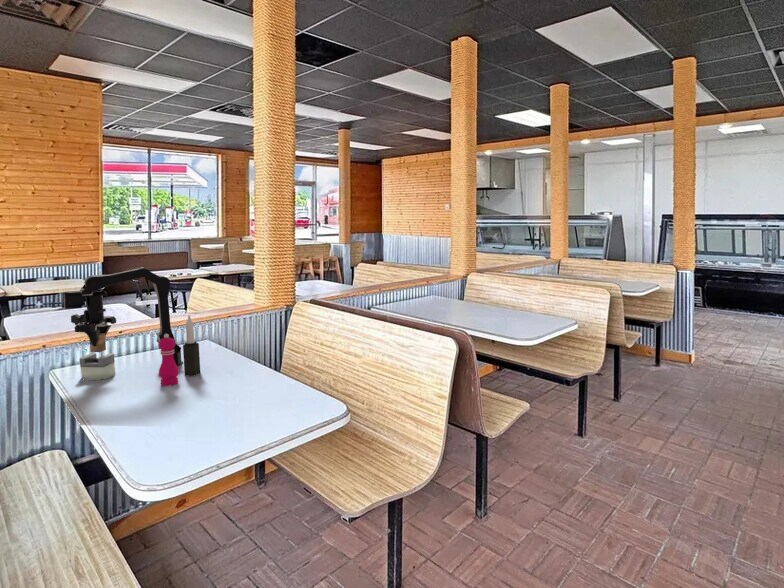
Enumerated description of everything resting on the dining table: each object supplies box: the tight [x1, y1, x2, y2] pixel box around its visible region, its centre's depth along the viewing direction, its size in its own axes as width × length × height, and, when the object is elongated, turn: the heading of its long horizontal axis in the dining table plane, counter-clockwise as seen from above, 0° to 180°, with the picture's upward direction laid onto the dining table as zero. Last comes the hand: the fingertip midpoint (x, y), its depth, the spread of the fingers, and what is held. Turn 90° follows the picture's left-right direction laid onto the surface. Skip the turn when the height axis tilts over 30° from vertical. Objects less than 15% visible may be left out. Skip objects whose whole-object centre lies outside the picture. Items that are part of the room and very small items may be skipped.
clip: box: [79, 352, 116, 368], centre depth 205 cm, size 10×8×4 cm
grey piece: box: [80, 362, 116, 381], centre depth 206 cm, size 12×12×5 cm
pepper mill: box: [158, 334, 180, 386], centre depth 197 cm, size 7×7×20 cm
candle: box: [182, 315, 201, 377], centre depth 208 cm, size 5×5×25 cm
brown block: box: [88, 333, 107, 353], centre depth 204 cm, size 4×4×7 cm
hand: (97, 344), depth 204 cm, fingers closed on brown block, 4 cm apart
